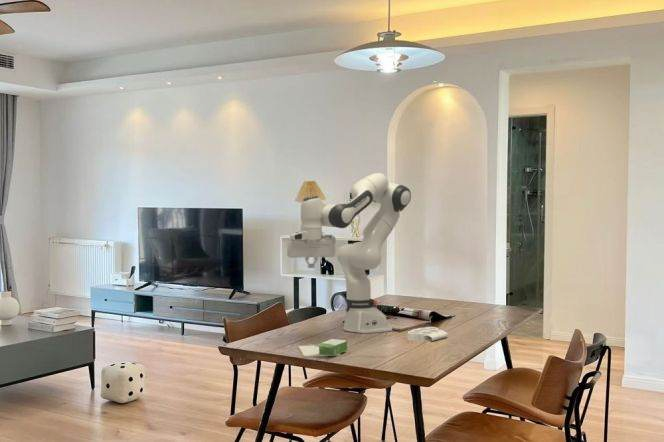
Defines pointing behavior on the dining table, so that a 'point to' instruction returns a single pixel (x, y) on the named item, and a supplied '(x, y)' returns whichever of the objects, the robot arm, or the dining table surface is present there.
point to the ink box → (332, 347)
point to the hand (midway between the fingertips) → (311, 267)
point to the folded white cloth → (426, 334)
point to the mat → (312, 351)
